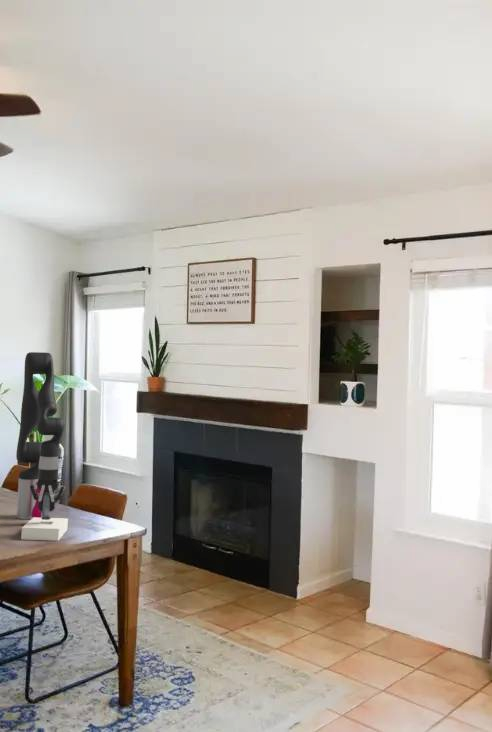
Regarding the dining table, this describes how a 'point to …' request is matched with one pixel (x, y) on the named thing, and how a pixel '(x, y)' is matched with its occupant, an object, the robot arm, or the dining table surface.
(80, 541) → the dining table surface
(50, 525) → the hole block
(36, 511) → the pepper mill
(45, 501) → the peg
